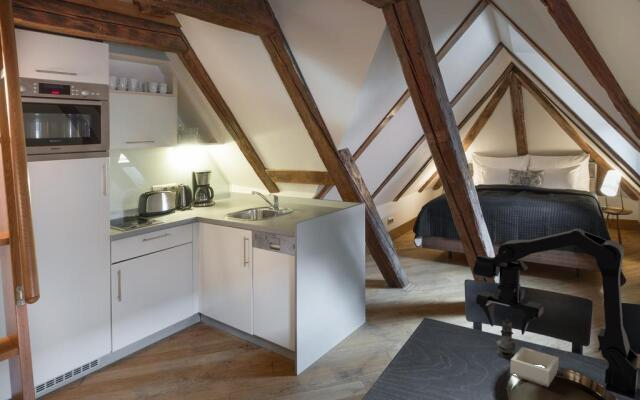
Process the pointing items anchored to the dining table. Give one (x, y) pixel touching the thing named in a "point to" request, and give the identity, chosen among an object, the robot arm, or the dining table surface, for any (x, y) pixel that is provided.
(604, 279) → the robot arm
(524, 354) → the box
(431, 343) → the dining table surface
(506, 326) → the dark grey tall piece
